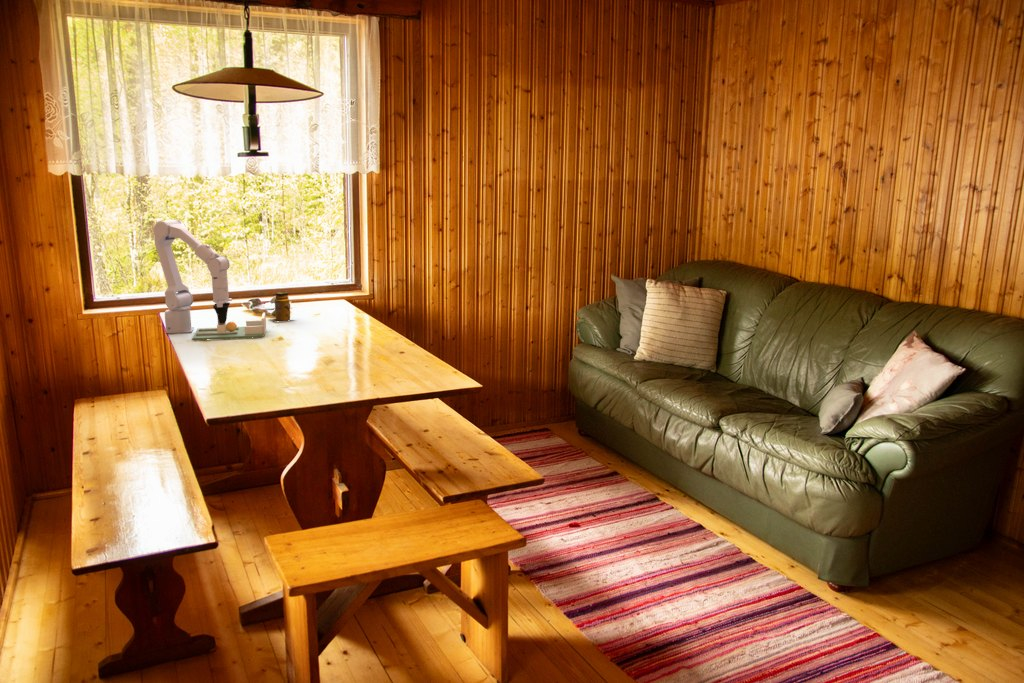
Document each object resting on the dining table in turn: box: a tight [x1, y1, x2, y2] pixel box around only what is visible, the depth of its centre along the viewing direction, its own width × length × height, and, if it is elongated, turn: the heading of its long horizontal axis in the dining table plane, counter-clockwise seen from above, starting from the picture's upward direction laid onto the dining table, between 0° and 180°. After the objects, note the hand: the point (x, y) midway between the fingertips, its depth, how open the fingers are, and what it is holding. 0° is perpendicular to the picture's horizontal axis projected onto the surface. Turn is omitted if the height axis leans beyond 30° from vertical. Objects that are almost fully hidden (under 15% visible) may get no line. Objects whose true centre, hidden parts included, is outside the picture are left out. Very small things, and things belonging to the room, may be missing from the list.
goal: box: [244, 312, 267, 335], centre depth 323 cm, size 8×12×6 cm, turn 15°
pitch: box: [191, 326, 265, 341], centre depth 321 cm, size 26×18×2 cm
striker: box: [216, 316, 227, 332], centre depth 320 cm, size 3×6×7 cm, turn 15°
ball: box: [226, 321, 238, 332], centre depth 321 cm, size 4×4×4 cm
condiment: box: [268, 291, 291, 323], centre depth 348 cm, size 7×8×12 cm
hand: (222, 322), depth 320 cm, fingers open, 3 cm apart
